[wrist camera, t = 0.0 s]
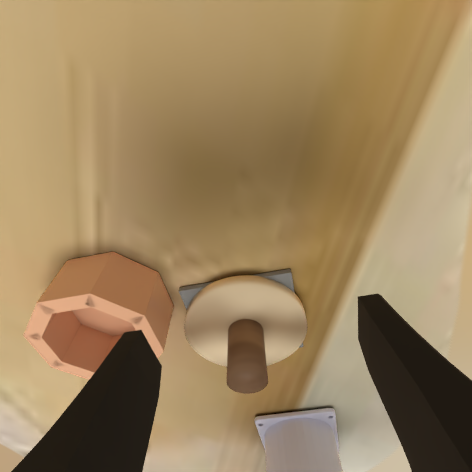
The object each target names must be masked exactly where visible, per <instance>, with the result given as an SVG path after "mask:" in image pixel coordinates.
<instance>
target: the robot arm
mask: <svg viewBox="0 0 472 472" xmlns="http://www.w3.org/2000/svg"><path fill="white" fill-rule="evenodd" d="M358 339H359V342H360V346H361V349H362V352H363V355H364V358H365V361H366V364H367V367H368V370H369V373H370V375H371V377H372V379H373V382H374V384H375V386H376V388H377V391H378V393H379V395H380V397H381V400H382V402H383V404H384V406H385V409H386V411H387V413H388V415H389V418H390V420H391V422H392V424H393V427H394V429H395V431H396V433H397V435H398V438H399V440H400V442H401V444H402V447H403V449H404V452H405V454H406V457H407V459H408V461H409V464H410V467H411V470H412V472H472V380H470V379H469V378H468V377H467V376H466V375H464V374H463V373H462V372H461V371H459V370H458V369H457V368H456V367H455V366H454V365H452V364H451V363H450V362H449V361H448V360H447V359H446V358H444V357H443V356H442V355H441V354H440V353H439V352H438V351H437V350H436V349H434V348H433V347H432V346H431V345H430V344H429V343H428V342H427V341H426V340H425V339H424V338H422V337H421V336H420V335H419V334H418V333H417V332H416V331H415V330H414V329H413V328H412V327H411V326H410V325H409V324H408V323H407V322H406V321H405V320H404V319H403V318H402V317H401V316H400V315H399V314H398V313H397V312H396V311H395V310H394V309H393V308H392V307H391V306H390V305H389V304H388V303H387V301H386V300H385V299H384V298H383V297H382V296H381V295H379V294H373V295H366V296H360V297H358ZM161 368H162V366H161V364H160V362H159V360H158V359H157V357H156V355H155V353H154V352H153V350H152V348H151V346H150V344H149V343H148V341H147V339H146V337H145V335H144V334H143V332H142V330H136V331H129V332H124V334H123V335H122V336H121V338H120V339H119V340H118V342H117V343H116V344H115V346H114V347H113V348H112V350H111V351H110V353H109V354H108V355H107V357H106V358H105V359H104V361H103V362H102V363H101V365H100V366H99V368H98V369H97V370H96V372H95V373H94V374H93V376H92V377H91V378H90V380H89V381H88V382H87V384H86V385H85V386H84V388H83V389H82V390H81V392H80V393H79V394H78V395H77V397H76V398H75V399H74V400H73V402H72V403H71V404H70V405H69V407H68V408H67V409H66V410H65V411H64V413H63V414H62V415H61V416H60V418H59V419H58V420H57V421H56V423H55V424H54V425H53V426H52V427H51V429H50V430H49V431H48V432H47V433H46V434H45V436H44V437H43V438H42V439H41V440H40V441H39V442H38V444H37V445H36V446H35V447H34V448H33V449H32V450H31V451H30V452H29V453H28V454H27V456H26V457H25V458H24V459H23V460H22V461H21V462H20V463H19V464H18V465H17V466H16V467H15V468H14V469H13V471H11V472H142V470H143V465H144V461H145V457H146V452H147V448H148V443H149V439H150V434H151V430H152V425H153V421H154V416H155V412H156V407H157V402H158V397H159V389H160V380H161ZM255 424H256V427H257V430H258V433H259V435H260V438H261V441H262V443H263V446H264V449H265V454H266V469H267V472H343V470H342V466H341V461H340V457H339V445H338V434H337V424H336V414H335V410H334V409H333V408H325V409H316V410H307V411H299V412H290V413H281V414H273V415H264V416H257V417H256V418H255Z"/></svg>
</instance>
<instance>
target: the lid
mask: <svg viewBox="0 0 472 472" xmlns="http://www.w3.org/2000/svg"><path fill="white" fill-rule="evenodd" d="M184 331H185V336H186V339H187V341H188V343H189V344H190V346H191V347H192V348H193V350H195V351H196V352H197V353H198V354H199V355H200V356H202V357H203V358H205V359H207V360H208V361H211V362H213V363H215V364H218V365H221V366H226V367H227V385H228V386H229V388H230V389H232V390H234V391H236V392H239V393H255V392H258V391H261V390H262V389H264V388H265V387H266V386H267V384H268V376H267V366H268V365H272V364H274V363H277V362H279V361H281V360H283V359H285V358H287V357H288V356H290V355H291V354H292V353H294V352H295V351H296V350H297V349H298V348H299V347H300V345H301V344H302V342H303V341H304V339H305V336H306V333H307V320H306V316H305V311H304V307H303V305H302V302H301V301H300V299H299V298H298V296H297V295H296V294H295V293H294V292H293V291H292V290H291V289H289V288H288V287H286V286H285V285H283V284H281V283H279V282H277V281H275V280H272V279H268V278H264V277H260V276H250V275H243V276H233V277H228V278H224V279H221V280H218V281H215V282H213V283H211V284H209V285H207V286H206V287H204V288H203V289H202V290H200V291H199V292H198V293H197V294H196V295H195V296H194V297H193V299H192V300H191V302H190V304H189V306H188V308H187V313H186V318H185V324H184Z"/></svg>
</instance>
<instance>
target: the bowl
mask: <svg viewBox="0 0 472 472" xmlns="http://www.w3.org/2000/svg"><path fill="white" fill-rule="evenodd" d="M173 307H174V305H173V303H172V301H171V299H170V297H169V294H168V292H167V290H166V288H165V286H164V283H163V281H162V279H161V277H160V275H159V272H157V271H154V270H152V269H150V268H148V267H146V266H143V265H141V264H139V263H137V262H135V261H132V260H130V259H128V258H126V257H124V256H121V255H119V254H117V253H115V252H108V253H103V254H98V255H92V256H87V257H82V258H76V259H71V260H67V261H66V263H65V264H64V266H63V267H62V268H61V270H60V271H59V273H58V274H57V275H56V277H55V278H54V279H53V281H52V282H51V284H50V285H49V286H48V288H47V289H46V291H45V292H44V293H43V295H42V296H41V297H40V299H39V300H38V302H37V303H36V306H35V308H34V310H33V313H32V315H31V318H30V320H29V323H28V325H27V327H26V330H25V332H24V335H23V336H24V337H25V338H26V339H27V340H28V341H29V342H30V344H31V345H32V346H33V347H34V348H35V349H36V350H37V352H38V353H39V354H40V355H41V356H42V357H43V358H44V360H45V361H46V362H47V363H48V364H49V365H50V366H51V367H52V368H55V369H58V370H61V371H64V372H67V373H70V374H73V375H76V376H79V377H83V378H86V379H89V380H90V378H91V377H92V376H93V374H94V373H95V372H96V370H97V369H98V368H99V366H100V365H101V363H102V362H103V361H104V359H105V358H106V357H107V355H108V354H109V353H110V351H111V350H112V348H113V347H114V346H115V344H116V343H117V342H118V340H119V339H120V338H121V336H122V335H123V334H124V332H129V331H136V330H142V332H143V334H144V335H145V337H146V339H147V341H148V343H149V344H150V346H151V348H152V350H153V352H154V353H155V355H156V357H157V359H158V357H159V356H160V355H161V354H162V352H163V351H164V347H165V343H166V338H167V334H168V329H169V325H170V320H171V316H172V311H173Z"/></svg>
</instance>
